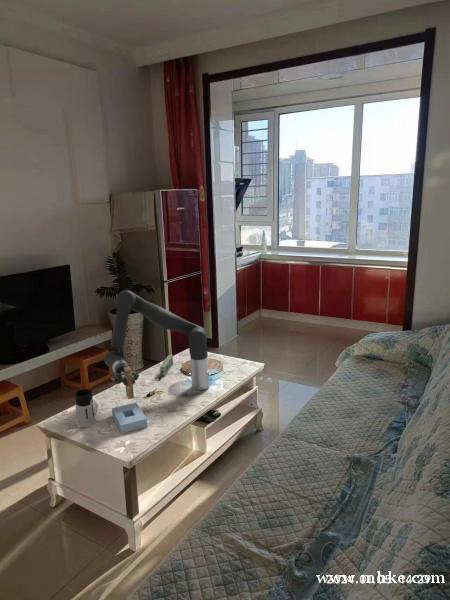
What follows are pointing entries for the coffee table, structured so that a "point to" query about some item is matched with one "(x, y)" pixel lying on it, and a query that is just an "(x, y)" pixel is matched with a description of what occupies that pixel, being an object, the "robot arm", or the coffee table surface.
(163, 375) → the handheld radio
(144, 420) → the end cap
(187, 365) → the trivet
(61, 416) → the coffee table surface
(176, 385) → the coffee table surface
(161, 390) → the coffee table surface
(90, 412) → the white travel mug
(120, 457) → the coffee table surface
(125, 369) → the slat
